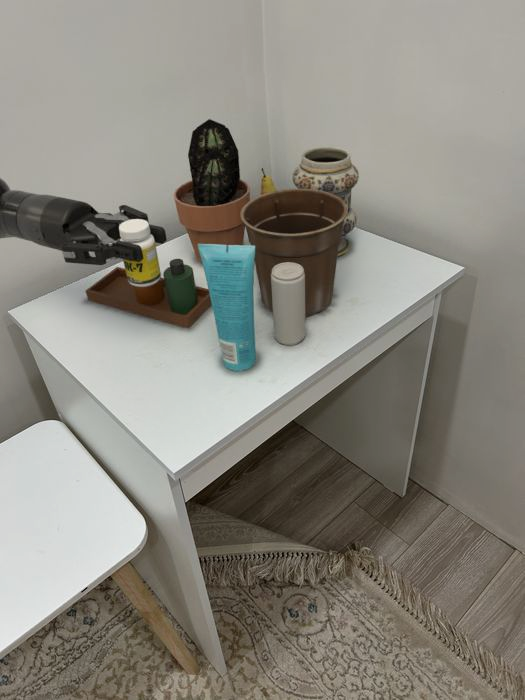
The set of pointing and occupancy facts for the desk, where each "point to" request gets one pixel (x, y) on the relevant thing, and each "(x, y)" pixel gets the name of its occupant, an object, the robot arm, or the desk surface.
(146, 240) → the supplement bottle
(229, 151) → the potted plant
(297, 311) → the beverage can
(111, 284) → the serving tray
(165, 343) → the desk surface
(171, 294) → the green bottle
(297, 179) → the apothecary jar
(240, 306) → the tube
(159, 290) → the amber bottle
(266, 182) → the fruit
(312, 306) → the plant pot
